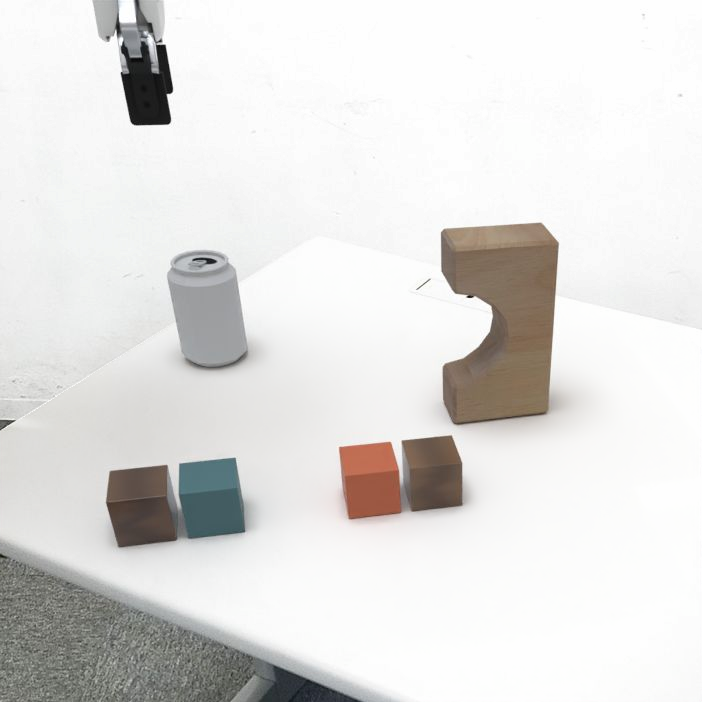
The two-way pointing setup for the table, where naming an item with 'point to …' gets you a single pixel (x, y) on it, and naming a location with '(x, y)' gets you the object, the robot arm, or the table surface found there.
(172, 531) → the block
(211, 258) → the can
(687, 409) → the table surface
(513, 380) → the decorative block
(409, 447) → the block
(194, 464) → the block
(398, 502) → the block
